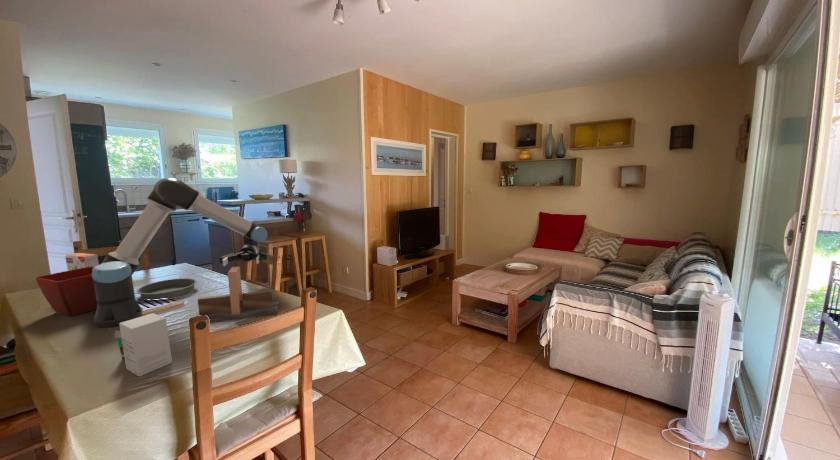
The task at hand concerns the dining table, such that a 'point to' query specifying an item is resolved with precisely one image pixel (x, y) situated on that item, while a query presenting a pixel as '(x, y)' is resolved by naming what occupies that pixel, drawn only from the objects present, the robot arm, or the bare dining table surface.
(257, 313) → the cross board
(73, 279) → the plant pot
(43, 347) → the dining table surface
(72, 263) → the cracker box
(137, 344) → the supplement box
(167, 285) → the cake pan
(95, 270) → the robot arm
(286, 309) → the dining table surface
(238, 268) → the halving plate
